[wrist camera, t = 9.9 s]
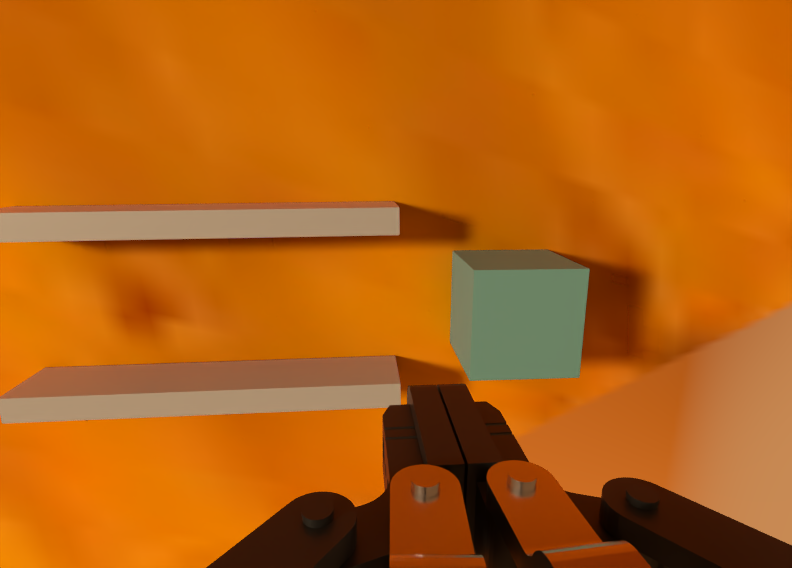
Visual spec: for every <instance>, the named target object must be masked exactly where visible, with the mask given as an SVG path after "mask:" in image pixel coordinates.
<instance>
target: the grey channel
mask: <svg viewBox="0 0 792 568" xmlns="http://www.w3.org/2000/svg"><path fill="white" fill-rule="evenodd" d="M379 235H400V218H399V206H398V205H397V204H396V203H395V202H394V201H383V202H307V203H231V204H156V205H80V206H14V207H6V208H0V242H43V241H99V240H155V239H211V238H267V237H323V236H379ZM389 405H401V384H400V378H399V373H398V367H397V362H396V357H395V356H369V357H340V358H310V359H281V360H252V361H223V362H194V363H165V364H136V365H107V366H78V367H49V368H44V369H42V370H41V371H39V372H38V373H36V374H35V375H33V376H32V377H30V378H28V379H27V380H25V381H24V382H22V383H21V384H19V385H18V386H16V387H15V388H13V389H12V390H10V391H8V392H7V393H5V394H4V395H2V396H1V397H0V416H1V421H2V423H25V422H49V421H74V420H98V419H122V418H146V417H170V416H194V415H218V414H243V413H267V412H291V411H315V410H339V409H363V408H387V407H389Z"/></svg>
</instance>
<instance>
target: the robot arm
mask: <svg viewBox="0 0 792 568" xmlns="http://www.w3.org/2000/svg"><path fill="white" fill-rule="evenodd" d="M383 475H384V485H385V492H384V493H383V494H382V495H381V496H380V497H378V498H377V499H375V500H374V501H372V502H370V503H367V504H364V505H361V506H358V507H354V505H353V503H352V502H351V501H350V500H349V499H347V498H346V497H344V496H342V495H340V494H337V493H332V492H314V493H309V494H306V495H303V496H300V497H298V498H296V499H295V500H293V501H292V502H290V503H289V504H287V505H286V506H285V507H284V508H282V509H281V510H280V511H278V512H277V513H276V514H275V515H273V516H272V517H271V518H270V519H268V520H267V521H266V522H264V523H263V524H262V525H261V526H259V527H258V528H257V529H255V530H254V531H253V532H252V533H250V534H249V535H248V536H246V537H245V538H244V539H243V540H241V541H240V542H239V543H237V544H236V545H235V546H234V547H232V548H231V549H230V550H228V551H227V552H226V553H225V554H223V555H222V556H221V557H219V558H218V559H217V560H216V561H214V562H213V563H212V564H210V565H209V566H208V567H207V568H792V545H789V544H787V543H785V542H783V541H780V540H778V539H776V538H774V537H772V536H769V535H767V534H765V533H762V532H760V531H758V530H756V529H754V528H751V527H749V526H747V525H744V524H743V523H740V522H738V521H736V520H734V519H731V518H729V517H727V516H725V515H723V514H720V513H718V512H716V511H714V510H711V509H709V508H707V507H704V506H702V505H700V504H698V503H696V502H694V501H691V500H689V499H687V498H685V497H682V496H680V495H678V494H676V493H674V492H671V491H669V490H667V489H665V488H662V487H660V486H658V485H656V484H653V483H651V482H647V481H644V480H641V479H636V478H616V479H612V480H610V481H608V482H607V483H606V484H605V485H604V486H603V489H602V496H601V498H599V497H593V496H587V495H581V494H575V493H570V492H567V491H564V490H563V488H562V487H561V486H560V485H559V483H558V482H557V480H556V479H555V478H554V477H553V475H552V474H551V473H549V472H548V471H547V470H545V469H544V468H542V467H540V466H538V465H536V464H533V463H530V462H529V461H528V459H527V458H526V456H525V454H524V452H523V451H522V449H521V447H520V445H519V444H518V442H517V440H516V439H515V437H514V435H513V434H512V432H511V430H510V428H509V426H508V425H506V421H505V419H504V418H503V416H502V414H501V412H500V411H499V410H497V409H496V408H495V407H493V406H492V405H490V404H489V403H488V402H474V400H473V398H472V396H471V394H470V392H469V390H468V388H467V386H466V384H443V385H437V386H436V385H415V386H408V391H407V405H389V407H388V408H387V410H386V411H385V413H384V414H383Z"/></svg>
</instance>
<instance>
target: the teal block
mask: <svg viewBox="0 0 792 568" xmlns="http://www.w3.org/2000/svg"><path fill="white" fill-rule="evenodd" d="M589 271H590V269H589V268H587V267H585V266H582V265H580V264H578V263H576V262H574V261H571V260H569V259H567V258H565V257H563V256H560V255H558V254H556V253H554V252H552V251H549V250H462V251H453V260H452V294H451V328H450V343H451V345H452V347H453V349H454V351H455V353H456V355H457V357H458V359H459V361H460V363H461V365H462V367H463V369H464V371H465V372H466V374H467V376H468V378H469V380H470V381H476V380H511V379H546V378H579V376H580V365H581V355H582V344H583V334H584V323H585V313H586V302H587V292H588V281H589Z"/></svg>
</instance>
